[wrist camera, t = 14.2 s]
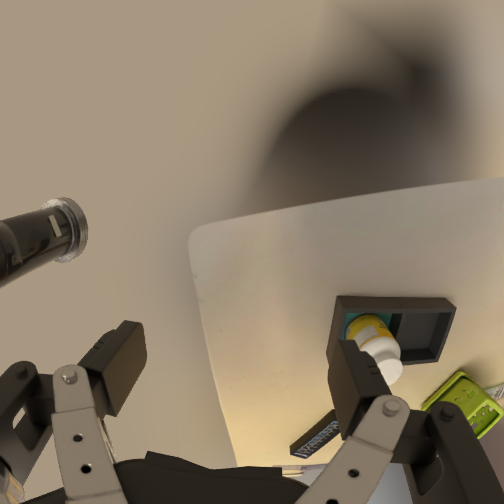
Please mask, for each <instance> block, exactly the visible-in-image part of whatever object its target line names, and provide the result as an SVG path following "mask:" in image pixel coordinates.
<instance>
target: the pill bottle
mask: <svg viewBox="0 0 504 504" xmlns="http://www.w3.org/2000/svg"><path fill="white" fill-rule="evenodd" d="M345 339H354V340H355V341H356V343H357V345H358V347H359V349H360V351H366V352H368V353H369V354H370V355H371V356H372V357H373V358H374V359H375V361H376V363H377V365H378V367H379V369H380V371H381V374H382V375H383V377H384V379H385V381H386V383H387V385H388V386H389V385H391V384H393V383H394V382H395V381H396V380H397V379H398V378H399V377H400V376H401V374H402V371H403V365H402V363H401V361H400V347H399V345H398V343H397V342H396V340H395V339H394V337H393V336H392V334H391V333H390V331H389V330H388V328H387V327H386V325H385V324H384V322H383V321H382V319H381V318H380V317H379V316H378V315H376V314H374V313H361V314H359V315H357V316H355V317H354V318H352V319H351V320H350V322H349V323H348V324H347V326H346V329H345Z"/></svg>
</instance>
